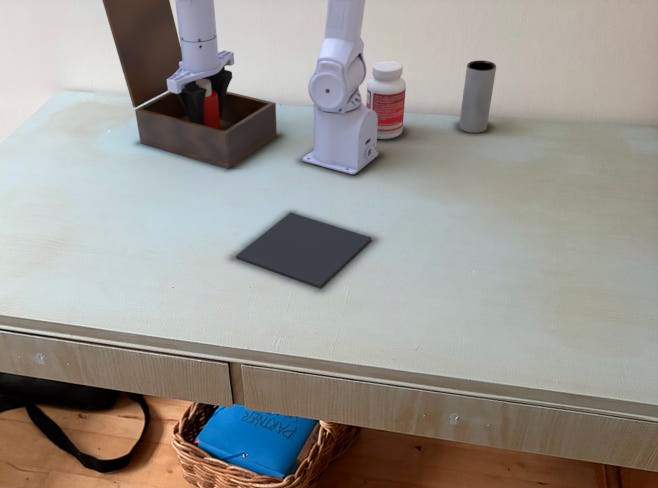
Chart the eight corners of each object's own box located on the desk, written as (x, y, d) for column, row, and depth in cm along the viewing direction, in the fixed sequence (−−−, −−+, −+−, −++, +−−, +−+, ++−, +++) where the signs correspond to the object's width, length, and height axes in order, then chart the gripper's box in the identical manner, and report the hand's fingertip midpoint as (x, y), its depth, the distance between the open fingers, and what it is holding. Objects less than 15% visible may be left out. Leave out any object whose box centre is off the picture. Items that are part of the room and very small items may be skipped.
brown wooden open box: (276, 136, 126) (275, 102, 122) (228, 169, 117) (225, 133, 114) (191, 114, 134) (187, 82, 130) (140, 143, 126) (134, 109, 122)
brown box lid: (159, -43, 119) (140, -41, 121) (98, -22, 111) (80, -20, 113) (188, 80, 130) (171, 79, 132) (135, 107, 122) (118, 107, 124)
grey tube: (471, 119, 128) (480, 58, 121) (492, 127, 125) (502, 65, 118) (453, 126, 126) (461, 65, 119) (473, 135, 123) (482, 72, 116)
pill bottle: (409, 133, 125) (415, 66, 117) (381, 143, 122) (385, 75, 115) (385, 121, 128) (389, 55, 121) (357, 130, 126) (360, 64, 119)
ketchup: (226, 133, 126) (221, 79, 120) (210, 143, 123) (204, 89, 117) (205, 127, 128) (200, 74, 122) (189, 137, 125) (183, 83, 119)
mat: (371, 240, 100) (371, 237, 100) (320, 288, 92) (320, 285, 92) (290, 214, 106) (290, 212, 106) (235, 258, 98) (235, 255, 98)
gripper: (207, 19, 121) (214, 101, 130) (147, 46, 112) (159, 132, 121) (242, 25, 118) (247, 109, 127) (183, 54, 109) (193, 142, 118)
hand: (206, 121), depth 124 cm, fingers closed on ketchup, 4 cm apart
